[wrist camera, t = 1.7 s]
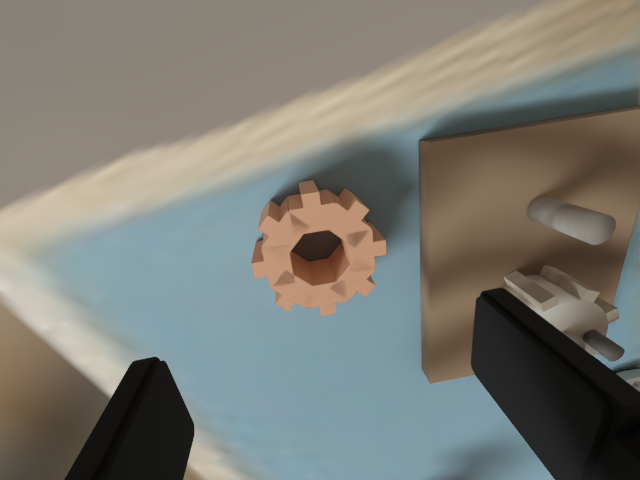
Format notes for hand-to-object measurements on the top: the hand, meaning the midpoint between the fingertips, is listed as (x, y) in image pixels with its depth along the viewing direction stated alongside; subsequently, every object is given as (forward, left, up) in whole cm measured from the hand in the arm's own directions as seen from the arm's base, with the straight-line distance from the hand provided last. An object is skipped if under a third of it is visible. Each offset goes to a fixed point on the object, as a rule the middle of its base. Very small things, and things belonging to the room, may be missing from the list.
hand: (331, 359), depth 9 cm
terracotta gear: (0, -1, -11) cm, 11 cm away
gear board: (-4, -15, -11) cm, 19 cm away
